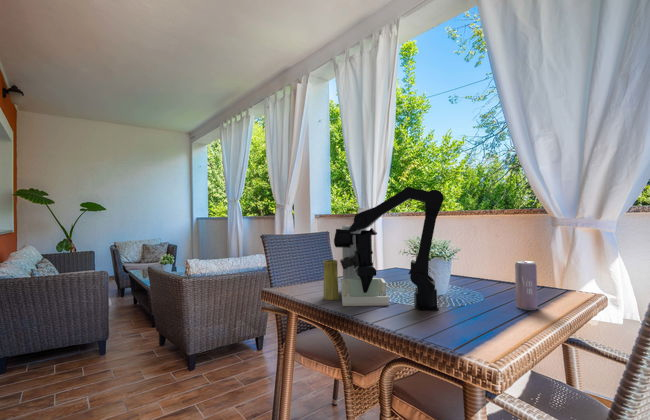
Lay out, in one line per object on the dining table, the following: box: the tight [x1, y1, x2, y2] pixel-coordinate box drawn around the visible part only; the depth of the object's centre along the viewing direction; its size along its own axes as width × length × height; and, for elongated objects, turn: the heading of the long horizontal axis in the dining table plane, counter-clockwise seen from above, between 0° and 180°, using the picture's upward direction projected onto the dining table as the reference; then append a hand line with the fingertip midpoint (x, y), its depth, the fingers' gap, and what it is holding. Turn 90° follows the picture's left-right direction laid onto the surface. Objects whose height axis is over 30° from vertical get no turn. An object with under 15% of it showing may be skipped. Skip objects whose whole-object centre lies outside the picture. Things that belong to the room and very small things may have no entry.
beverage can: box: [514, 260, 538, 311], centre depth 106 cm, size 6×6×15 cm
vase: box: [322, 259, 340, 301], centre depth 123 cm, size 6×6×14 cm
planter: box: [341, 225, 367, 279], centre depth 134 cm, size 10×10×27 cm
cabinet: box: [340, 277, 390, 307], centre depth 119 cm, size 16×13×7 cm
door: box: [350, 277, 378, 296], centre depth 115 cm, size 10×2×7 cm, turn 89°
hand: (364, 291), depth 115 cm, fingers closed on door, 2 cm apart
